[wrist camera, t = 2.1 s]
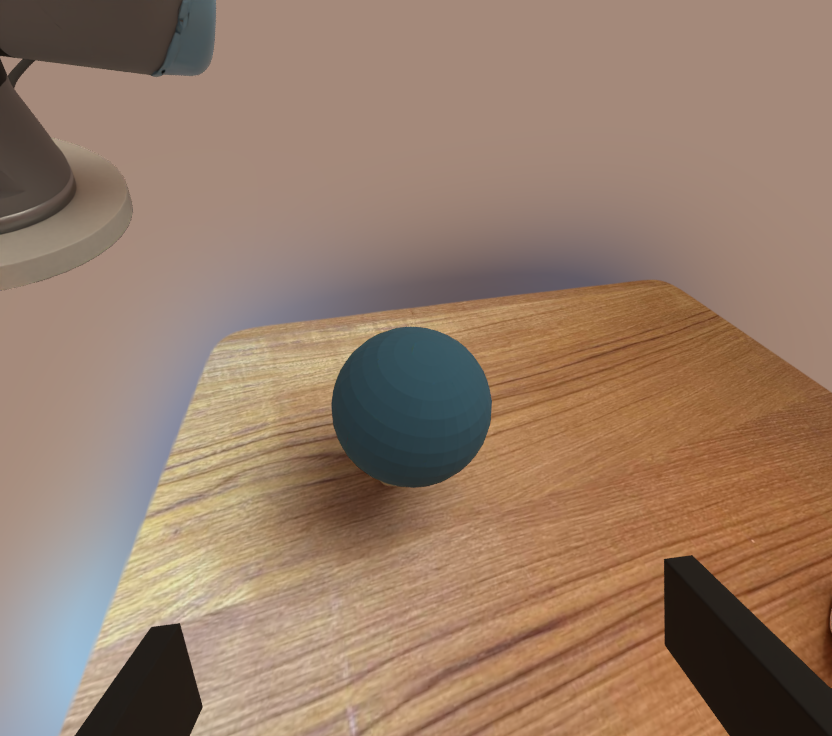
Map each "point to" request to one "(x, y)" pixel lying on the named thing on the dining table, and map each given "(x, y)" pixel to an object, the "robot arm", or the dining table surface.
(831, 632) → the mug
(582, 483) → the dining table surface
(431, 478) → the dark teal ovoid
